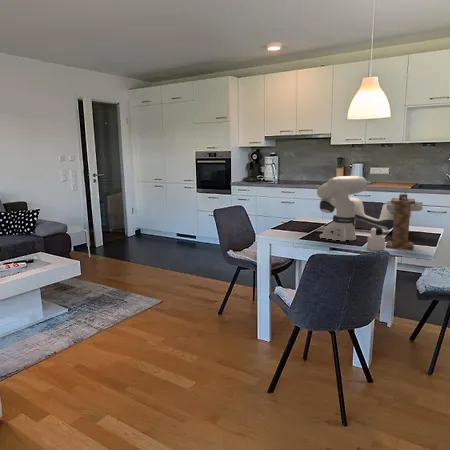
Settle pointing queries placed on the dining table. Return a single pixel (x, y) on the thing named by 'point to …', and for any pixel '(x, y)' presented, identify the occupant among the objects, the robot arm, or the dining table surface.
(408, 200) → the walnut stand
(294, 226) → the dining table surface
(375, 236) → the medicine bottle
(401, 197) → the wooden wick
